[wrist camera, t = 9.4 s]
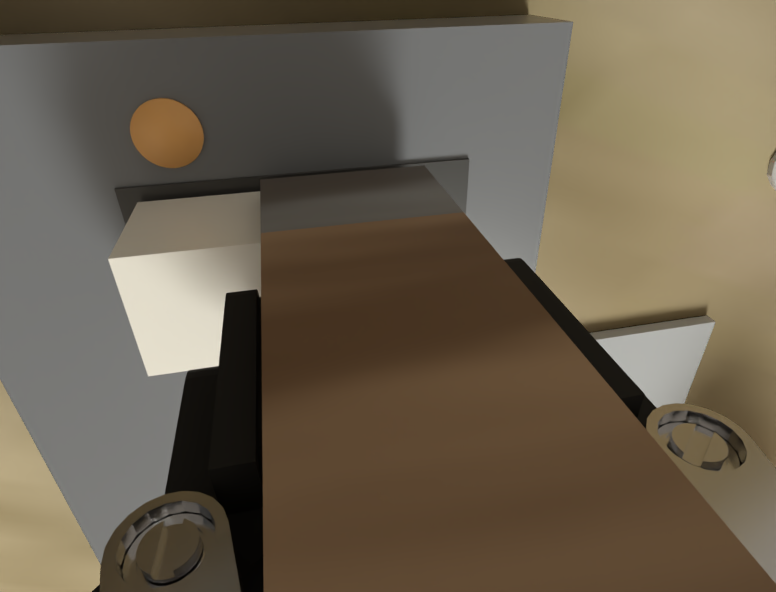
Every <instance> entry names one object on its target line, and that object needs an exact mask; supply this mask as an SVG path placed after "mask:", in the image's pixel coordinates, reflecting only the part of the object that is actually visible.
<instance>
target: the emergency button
mask: <svg viewBox="0 0 776 592" xmlns="http://www.w3.org/2000/svg"><path fill="white" fill-rule="evenodd" d="M767 176H768V179H769V181H770V184H771V186H772V187H773V188H774V189H775V191H776V153H775V154H774V156H773V157H772V159H771V160H770V162H769V167H768V172H767Z"/></svg>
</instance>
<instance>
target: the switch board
mask: <svg viewBox="0 0 776 592" xmlns="http://www.w3.org/2000/svg"><path fill="white" fill-rule="evenodd" d="M572 26H573V22H571V21H565V20H559V19H553V18H547V17H541V16H535V15H508V16H481V17H455V18H429V19H403V20H377V21H351V22H325V23H298V24H272V25H246V26H220V27H194V28H168V29H141V30H115V31H89V32H63V33H37V34H11V35H0V380H1V382H2V384H3V385H4V387H5V389H6V391H7V393H8V395H9V396H10V398H11V400H12V402H13V404H14V406H15V408H16V409H17V411H18V413H19V415H20V417H21V419H22V420H23V422H24V424H25V426H26V428H27V430H28V431H29V433H30V435H31V437H32V439H33V441H34V443H35V444H36V446H37V448H38V450H39V452H40V454H41V455H42V457H43V459H44V461H45V463H46V465H47V467H48V468H49V470H50V472H51V474H52V476H53V478H54V479H55V481H56V483H57V485H58V487H59V489H60V490H61V492H62V494H63V496H64V498H65V500H66V502H67V503H68V505H69V507H70V509H71V511H72V513H73V514H74V516H75V518H76V520H77V522H78V524H79V525H80V527H81V529H82V531H83V533H84V535H85V537H86V538H87V540H88V542H89V544H90V546H91V548H92V549H93V551H94V553H95V555H96V557H97V559H98V561H99V562H100V564H101V562H102V558H103V553H104V549H105V546H106V544H107V542H108V541H109V539H110V537H111V535H112V534H113V532H114V530H115V529H116V528H117V527H118V526H119V525H120V524H121V522H122V521H123V520H124V519H125V518H126V517H127V516H128V515H129V514H130V513H132V512H133V511H135V510H136V509H137V508H139V507H140V506H142V505H143V504H144V503H146V502H148V501H150V500H153V499H155V498H157V497H160V496H162V495H164V494H165V489H166V484H167V478H168V473H169V467H170V461H171V456H172V450H173V445H174V439H175V433H176V428H177V422H178V416H179V411H180V405H181V400H182V394H183V388H184V383H185V378H186V374H187V372H188V371H183V372H176V373H169V374H162V375H155V376H148V374H147V371H146V368H145V365H144V363H143V360H142V357H141V354H140V351H139V348H138V345H137V342H136V339H135V336H134V333H133V330H132V328H131V325H130V322H129V319H128V316H127V313H126V310H125V307H124V304H123V301H122V298H121V296H120V293H119V290H118V287H117V284H116V281H115V278H114V275H113V272H112V269H111V266H110V263H109V261H108V258H109V256H110V254H111V252H112V250H113V248H114V246H115V245H116V243H117V241H118V239H119V237H120V235H121V233H122V231H123V229H124V227H125V225H126V223H127V222H128V220H129V218H130V216H131V214H132V212H133V210H134V208H135V206H136V204H137V202H146V201H157V200H169V199H180V198H191V197H202V196H213V195H224V194H235V193H247V192H258V191H260V180H261V179H273V178H284V177H296V176H307V175H319V174H330V173H342V172H353V171H365V170H377V169H388V168H400V167H411V166H423V165H424V166H425V167H426V168H427V169H428V170H429V172H430V173H431V174H432V175H433V176H434V178H435V179H436V180H437V181H438V182H439V183H440V185H441V186H442V187H443V188H444V189H445V191H446V192H447V193H448V194H449V195H450V197H451V198H452V199H453V200H454V201H455V203H456V204H457V205H458V206H459V207H460V208H461V210H462V211H463V212H464V213H465V214H466V216H467V217H468V218H469V219H470V220H471V222H472V223H473V224H474V225H475V226H476V228H477V229H478V230H479V231H480V232H481V233H482V235H483V236H484V237H485V238H486V239H487V241H488V242H489V243H490V244H491V245H492V247H493V248H494V249H495V250H496V251H497V252H498V254H499V255H500V256H501V257H502V258H503V260H505V259H513V258H521V259H522V260H524V261H525V262H526V264H527V265H528V266H529V267H530V268H531V269H532V270H533V271H534V272H535V270H536V264H537V257H538V251H539V244H540V237H541V231H542V224H543V218H544V211H545V204H546V198H547V191H548V185H549V178H550V171H551V165H552V158H553V152H554V145H555V138H556V132H557V125H558V119H559V112H560V105H561V99H562V92H563V86H564V79H565V72H566V66H567V59H568V53H569V46H570V39H571V33H572Z"/></svg>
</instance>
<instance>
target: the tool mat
mask: <svg viewBox="0 0 776 592" xmlns="http://www.w3.org/2000/svg"><path fill="white" fill-rule="evenodd" d="M714 325H715V321H714V320H713V319H711V318H710V317H709V316H700V317H694V318H687V319H680V320H673V321H667V322H660V323H653V324H647V325H640V326H633V327H626V328H620V329H613V330H606V331H599V332H593V333H590V334H591V335H592V336H593V337H594V339H595V340H596V341H597V342H598V343H599V344H600V345H601V346H602V347H603V348H604V350H605V351H606V352H607V353H608V354H609V355H610V356H611V357H612V358H613V360H614V361H615V362H616V363H617V364H618V365H619V366H620V367H621V368H622V369H623V371H624V372H625V373H626V374H627V375H628V376H629V377H630V378H631V379H632V380H633V382H634V383H635V384H636V385H637V386H638V387H639V388H640V389H641V390H642V391H643V393H644V394H645V396H646V397H647V398H648V399H649V400H650V401H651V402H652V403H653V404H654V405H655V407H656V408H658V407H660V406H662V405H667V404H674V403H680V404H684V403H685V400H686V397H687V395H688V392H689V390H690V387H691V384H692V382H693V379H694V377H695V374H696V371H697V369H698V366H699V364H700V361H701V358H702V356H703V353H704V351H705V348H706V345H707V343H708V340H709V338H710V335H711V332H712V330H713V327H714Z"/></svg>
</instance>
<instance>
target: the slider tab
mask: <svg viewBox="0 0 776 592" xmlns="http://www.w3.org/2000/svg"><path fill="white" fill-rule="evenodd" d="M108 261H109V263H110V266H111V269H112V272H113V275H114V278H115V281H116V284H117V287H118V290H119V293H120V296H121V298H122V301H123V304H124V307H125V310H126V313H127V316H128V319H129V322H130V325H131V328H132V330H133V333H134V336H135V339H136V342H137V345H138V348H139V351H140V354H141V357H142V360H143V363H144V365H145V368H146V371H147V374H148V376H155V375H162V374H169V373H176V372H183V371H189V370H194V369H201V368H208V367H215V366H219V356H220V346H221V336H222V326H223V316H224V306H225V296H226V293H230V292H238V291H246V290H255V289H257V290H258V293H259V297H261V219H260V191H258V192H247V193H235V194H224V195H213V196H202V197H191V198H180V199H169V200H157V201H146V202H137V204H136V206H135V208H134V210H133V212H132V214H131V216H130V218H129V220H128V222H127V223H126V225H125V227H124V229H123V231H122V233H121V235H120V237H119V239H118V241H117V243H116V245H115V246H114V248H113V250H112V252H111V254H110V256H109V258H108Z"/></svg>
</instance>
